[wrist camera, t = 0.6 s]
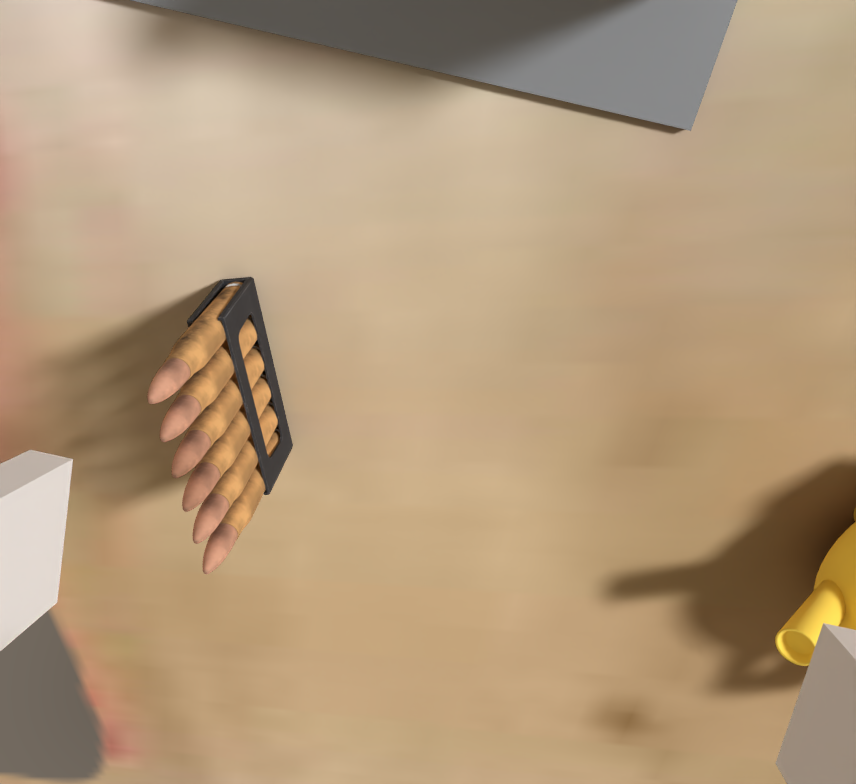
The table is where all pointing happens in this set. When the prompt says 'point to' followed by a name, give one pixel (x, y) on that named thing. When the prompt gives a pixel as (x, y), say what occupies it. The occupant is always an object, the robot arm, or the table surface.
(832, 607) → the teapot
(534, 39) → the mat
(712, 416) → the table surface
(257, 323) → the ammunition clip
